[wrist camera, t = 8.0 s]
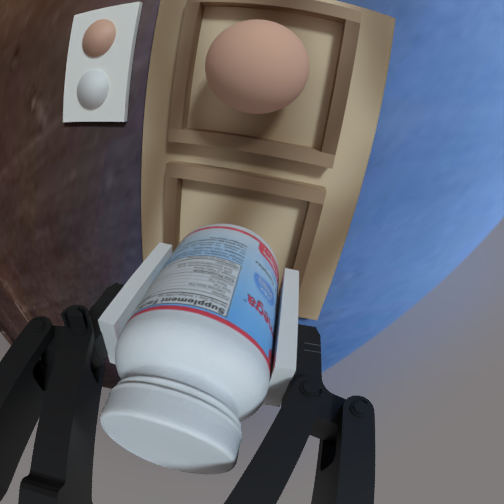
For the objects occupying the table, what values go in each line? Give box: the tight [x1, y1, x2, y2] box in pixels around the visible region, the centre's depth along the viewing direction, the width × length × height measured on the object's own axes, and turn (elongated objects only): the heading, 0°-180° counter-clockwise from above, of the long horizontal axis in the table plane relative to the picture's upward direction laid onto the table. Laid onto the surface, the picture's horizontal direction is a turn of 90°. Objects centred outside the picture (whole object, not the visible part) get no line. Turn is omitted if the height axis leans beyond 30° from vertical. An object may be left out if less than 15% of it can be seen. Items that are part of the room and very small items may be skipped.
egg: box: [205, 19, 310, 114], centre depth 12 cm, size 5×5×5 cm
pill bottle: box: [100, 224, 279, 474], centre depth 12 cm, size 6×6×11 cm
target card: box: [63, 2, 143, 122], centre depth 15 cm, size 6×9×1 cm, turn 171°
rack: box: [141, 0, 395, 320], centre depth 17 cm, size 14×22×2 cm, turn 171°
